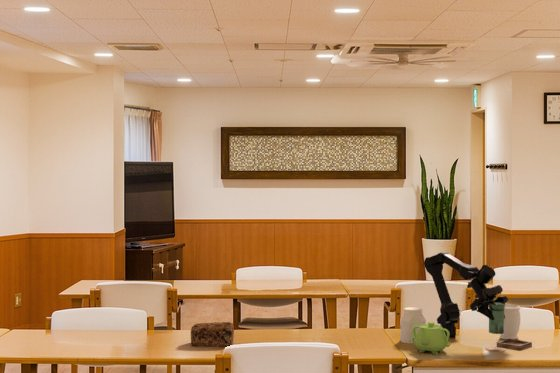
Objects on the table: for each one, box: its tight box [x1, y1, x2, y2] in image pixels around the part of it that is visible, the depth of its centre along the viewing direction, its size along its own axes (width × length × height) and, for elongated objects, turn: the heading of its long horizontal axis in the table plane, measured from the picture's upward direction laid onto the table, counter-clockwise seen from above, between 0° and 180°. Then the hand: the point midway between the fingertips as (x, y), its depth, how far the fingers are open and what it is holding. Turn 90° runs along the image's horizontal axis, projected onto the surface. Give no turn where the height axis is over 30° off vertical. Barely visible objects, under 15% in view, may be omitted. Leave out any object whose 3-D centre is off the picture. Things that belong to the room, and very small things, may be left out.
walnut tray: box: [496, 339, 533, 351], centre depth 358 cm, size 11×11×2 cm
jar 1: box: [399, 306, 427, 345], centre depth 370 cm, size 12×10×15 cm
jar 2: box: [499, 304, 521, 340], centre depth 378 cm, size 11×10×15 cm
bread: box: [190, 321, 235, 348], centre depth 363 cm, size 19×11×10 cm, turn 87°
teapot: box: [412, 321, 451, 355], centre depth 349 cm, size 16×14×13 cm
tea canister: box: [488, 303, 506, 335], centre depth 355 cm, size 7×7×12 cm
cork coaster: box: [484, 346, 507, 353], centre depth 351 cm, size 9×9×1 cm
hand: (498, 318), depth 354 cm, fingers closed on tea canister, 6 cm apart
